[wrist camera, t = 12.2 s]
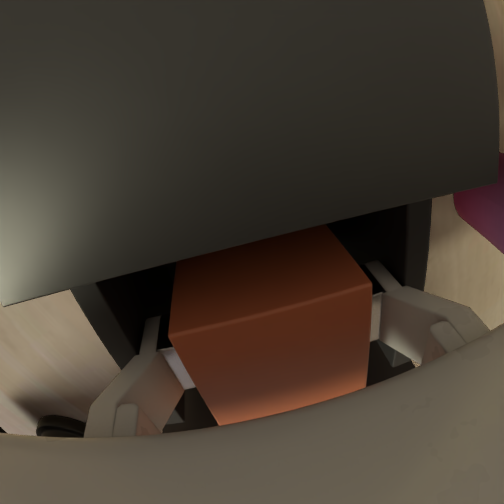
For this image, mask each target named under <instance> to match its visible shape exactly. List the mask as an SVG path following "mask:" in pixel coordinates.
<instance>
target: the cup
mask: <svg viewBox="0 0 504 504" xmlns="http://www.w3.org/2000/svg"><path fill="white" fill-rule="evenodd" d="M453 196H454V204H455V208H456V210H457V213H458V214H459V216H460V217H461V218H462V219H463V220H465V221H466V222H467V223H468V224H469V225H471V226H472V227H473V228H474V229H475V230H477V231H478V232H479V233H480V234H481V235H483V236H484V237H485V238H486V239H487V240H488V241H489V242H491V243H492V244H493V245H494V246H495V247H496V248H497V249H498V250H500V251H501V252H502V253H503V254H504V153H500V152H499V166H498V181H497V183H495V184H491V185H487V186H482V187H478V188H474V189H469V190H465V191H461V192H457V193H454V195H453Z"/></svg>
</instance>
